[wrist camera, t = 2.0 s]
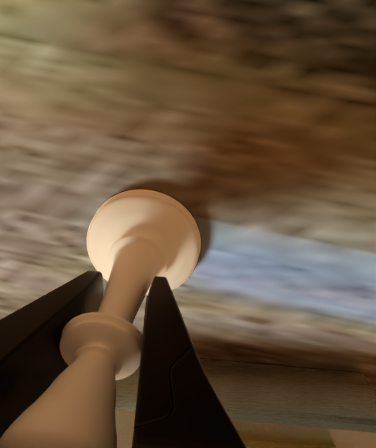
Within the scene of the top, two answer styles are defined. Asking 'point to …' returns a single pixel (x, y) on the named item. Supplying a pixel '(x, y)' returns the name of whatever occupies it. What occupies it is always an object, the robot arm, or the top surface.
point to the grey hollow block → (277, 405)
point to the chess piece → (110, 320)
